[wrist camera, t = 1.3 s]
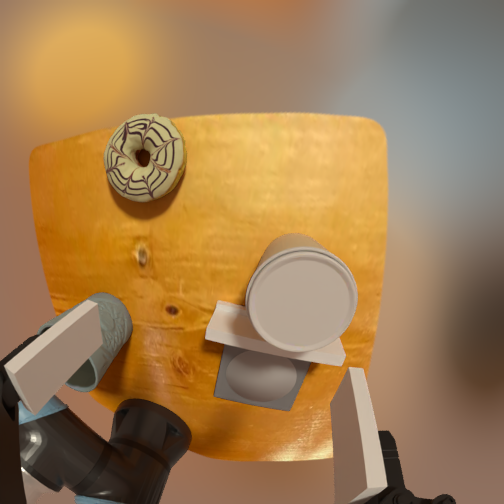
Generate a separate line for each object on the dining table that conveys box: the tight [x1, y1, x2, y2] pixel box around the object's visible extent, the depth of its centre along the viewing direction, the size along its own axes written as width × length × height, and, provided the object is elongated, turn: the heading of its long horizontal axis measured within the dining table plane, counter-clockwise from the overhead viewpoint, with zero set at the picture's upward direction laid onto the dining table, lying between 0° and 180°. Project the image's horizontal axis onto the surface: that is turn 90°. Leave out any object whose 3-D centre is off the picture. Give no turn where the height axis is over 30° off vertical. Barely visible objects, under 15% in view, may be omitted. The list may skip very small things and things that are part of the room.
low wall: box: [205, 300, 346, 366], centre depth 32 cm, size 3×16×6 cm, turn 78°
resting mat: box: [214, 344, 311, 411], centre depth 37 cm, size 12×12×1 cm
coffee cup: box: [246, 233, 358, 352], centre depth 28 cm, size 9×9×12 cm
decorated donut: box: [104, 113, 187, 202], centre depth 30 cm, size 10×11×4 cm
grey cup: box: [37, 293, 133, 392], centre depth 32 cm, size 10×10×12 cm
